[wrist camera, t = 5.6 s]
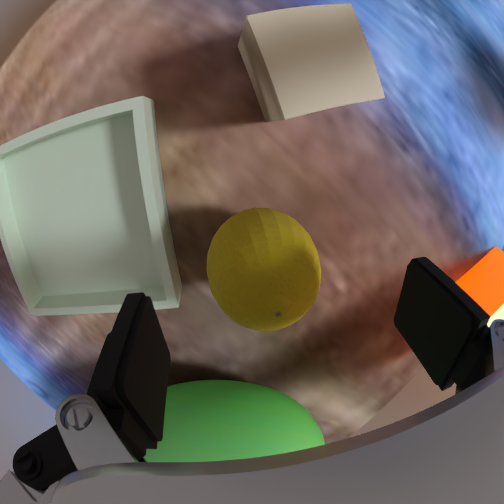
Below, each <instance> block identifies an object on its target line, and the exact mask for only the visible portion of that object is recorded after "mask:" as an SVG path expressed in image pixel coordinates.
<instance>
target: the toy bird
mask: <svg viewBox="0 0 504 504" xmlns="http://www.w3.org/2000/svg"><path fill="white" fill-rule="evenodd" d="M321 445H325V442H324V438H323V435H322V433H321V430H320V428H319V426H318V424H317V423H316V421H315V420H314V418H313V417H312V416H311V414H310V413H309V412H308V411H307V410H306V409H305V408H304V407H303V406H302V405H301V404H299V403H298V402H297V401H295V400H294V399H292V398H291V397H289V396H287V395H285V394H283V393H281V392H279V391H277V390H274V389H272V388H269V387H266V386H262V385H258V384H253V383H248V382H242V381H232V380H199V381H191V382H184V383H179V384H175V385H171V386H167V395H166V405H165V416H164V427H163V439H162V441H158V443H157V449H146V455H145V456H144V458H145V459H146V460H147V461H148V462H209V461H224V460H236V459H246V458H255V457H263V456H270V455H276V454H282V453H288V452H293V451H298V450H303V449H308V448H313V447H317V446H321Z"/></svg>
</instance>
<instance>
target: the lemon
mask: <svg viewBox="0 0 504 504" xmlns="http://www.w3.org/2000/svg"><path fill="white" fill-rule="evenodd" d="M207 276H208V280H209V284H210V288H211V291H212V294H213V296H214V298H215V299H216V301H217V303H218V304H219V306H220V307H221V309H222V310H223V311H224V312H225V313H226V314H227V315H228V316H229V317H230V318H231V319H232V320H233V321H235V322H237V323H239V324H240V325H242V326H244V327H246V328H250V329H254V330H262V331H271V330H278V329H281V328H284V327H287V326H290V325H291V324H293V323H295V322H296V321H298V320H299V319H300V318H301V317H302V316H304V315H305V314H306V313H307V312H308V311H309V309H310V308H311V306H312V305H313V303H314V302H315V299H316V297H317V294H318V292H319V288H320V280H321V268H320V262H319V256H318V252H317V250H316V247H315V245H314V243H313V241H312V239H311V237H310V236H309V234H308V233H307V231H306V230H305V229H304V228H303V227H302V226H301V225H300V224H299V223H298V222H297V221H296V220H295V219H293V218H292V217H290V216H288V215H286V214H285V213H283V212H281V211H277V210H273V209H269V208H252V209H248V210H244V211H241V212H239V213H237V214H235V215H233V216H231V217H230V218H229V219H228V220H227V221H226V222H224V223H223V224H222V225H221V226H220V228H219V229H218V231H217V232H216V234H215V235H214V237H213V238H212V241H211V244H210V247H209V250H208V254H207Z"/></svg>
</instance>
